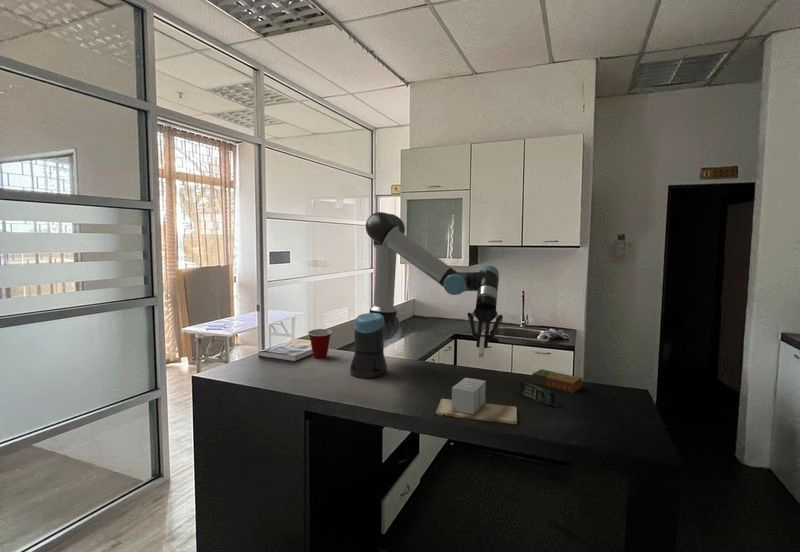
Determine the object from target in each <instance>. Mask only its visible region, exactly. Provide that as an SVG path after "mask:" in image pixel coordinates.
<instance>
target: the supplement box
mask: <svg viewBox="0 0 800 552" xmlns="http://www.w3.org/2000/svg"><path fill="white" fill-rule="evenodd" d="M486 384H487V381H486V380H482V379H476V378H471V377H469V378H468V377H464V378H463V379H461V380H460V381H459V382H458V383H456V384H455V385H453V386H452V387H451V400H452V411H458V412H463V413H468V414H474V413H475V412H476V411H477V410H478V409H479V408H480V407H481V406H482V405H483V404H484V403H486V387H487V386H486Z"/></svg>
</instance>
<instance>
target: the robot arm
mask: <svg viewBox="0 0 800 552" xmlns="http://www.w3.org/2000/svg"><path fill="white" fill-rule="evenodd" d="M365 231H366V233H367V235H368V237H370V239H371V240H373V243H372V245H373V247H374V248H375V249H376V254H375V255H376V257H375V272H374V273H375V274H374V293H373V305H372V306H371V307H370V308H369V312H366V313H362V314H359V315H357V316H356V318H355V321H354V326H353V327H354V355H353V357H352V361H351V364H350V367H349V374H350V375H351V376H353V377H355V378H361V379H376V378H383V377H385V376H386V375H388V373H389V372H388V369H389V368H388V364H387V361H386V358H385V354H384V351H385V350H384V348H385V347H384V345H385V344H384V342H385V341H387V340H390V339H392V338H393V337H395V335H397V333H398V332H399V329H400V320H399V317H398V315H397V314H398V310H397V308H396V307H395V289H396V287H395V285H396V272H397V271H396V270H397V269H396V267H397V256H398V255H399V256H400V257H401V258H403V259H404V260H406V261H407V262H408V263H410V264H412V265H413V266H414V267H415V268H417V269H418V270H420V271H421V272H422V273H423V274H425V275H426V276H427V277H429V278H431V279H432V280H433V281H435V282H437V284H439V285H440V286H441V287H443V289H444V290H445V292H446V293H447V294H449V295H452V296H457V295H461V294H463V293H464V292H476V293H477V294H476V301H475V308H474V310H473V312H467V319H468V321H469V324H470V329H471V336H472V338H473V339H476V343H475V344H476V348H478V358H484V355H485V353H484V352H485V349H488V346H489V340H490V341H494V339H495V336H496V334H497V332H498V329H499V326H500V324H501V323H502V322H503V319H504V318H503V315H502V314H498V311H497V303H498V302H497V301H498V289H499V283H500V282H499V281H500V279H499V277H500V276H499V275H500V272H499V270H498V268H497V267H495V266H493V265H484V266H482V267H481V268H480V270H479V271H473V272H472V271H471V272H470V271H467V272H465V271H462V272H459V271H456V270H455V269H454V268H452V267H451V266H450V265H448V264H447V263H445V262H444V261H443V260H441V259H439V258H438V257H437V256H436V255H434V254H433V253H431V252H430V251H428V250H426V249H425V248H424V247H423V246H422V245H419V243H417V242H416V241H414V240H412V239H411V238H410V237H409V236H408V235H405V232H406V227H405V223H404V221H403V220H402V219H401V218H400V217H399V216H397V215H396V214H393V213H386V212H383V211H378V212H374V213H372V214H371V215H370V216H369V217H368V218H367V220H366V222H365ZM475 318H476V319H477V321H478V326H477V333H476V326H475V321H474V320H475ZM494 319H495V321H494V323H493V327H492V328H491V331H490V327H491V322H492V321H493V320H494ZM484 323H485V330H484V336H482V331H483V324H484Z"/></svg>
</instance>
